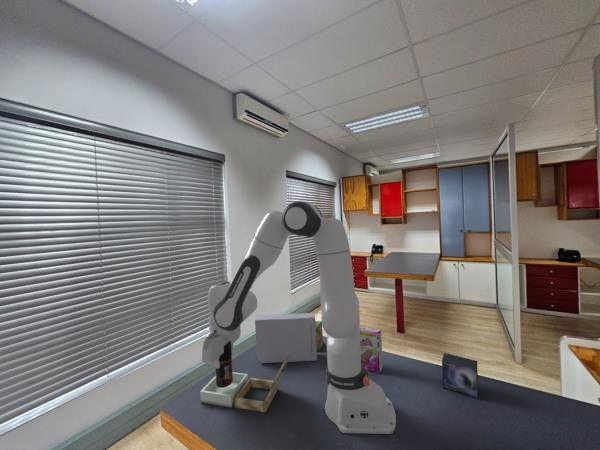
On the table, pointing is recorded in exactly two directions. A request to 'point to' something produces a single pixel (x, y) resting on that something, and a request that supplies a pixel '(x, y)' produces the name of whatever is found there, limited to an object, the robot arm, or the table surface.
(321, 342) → the chalk box
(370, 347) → the candy bar box
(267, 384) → the frame
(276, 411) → the table surface
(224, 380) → the deodorant
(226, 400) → the tray
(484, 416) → the table surface
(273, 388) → the beige flat board
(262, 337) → the game console
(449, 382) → the small box
